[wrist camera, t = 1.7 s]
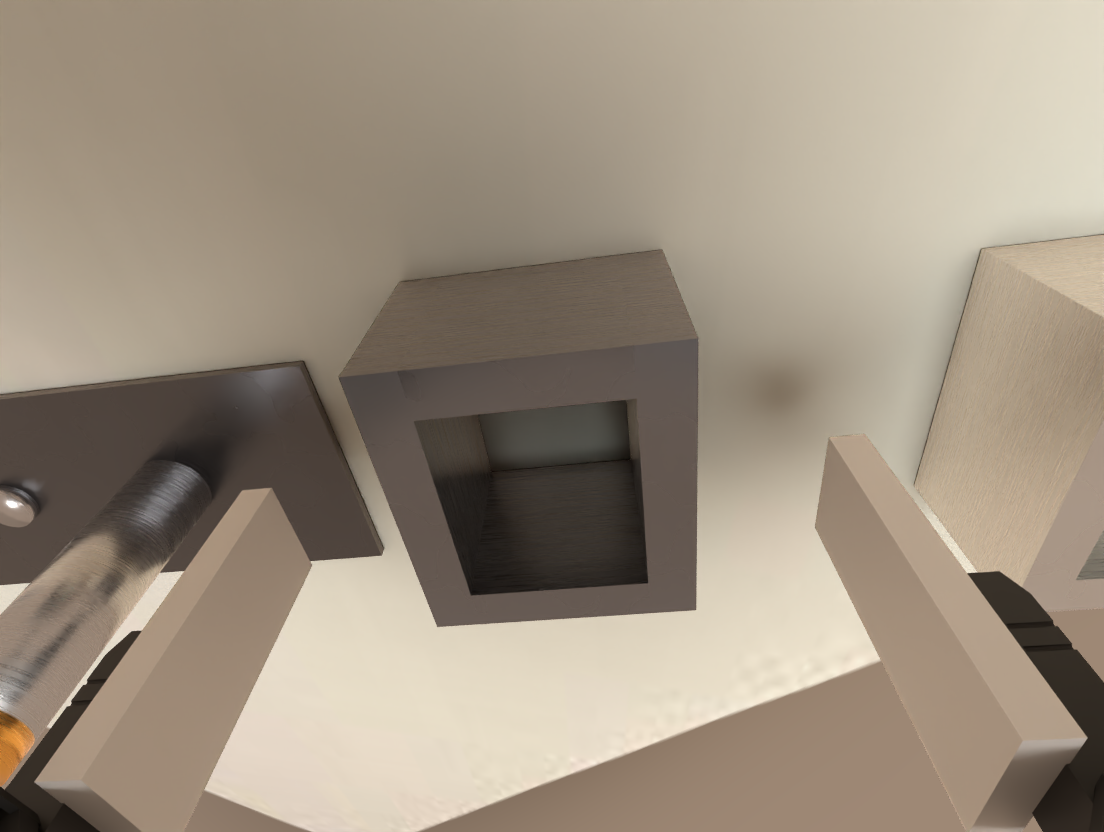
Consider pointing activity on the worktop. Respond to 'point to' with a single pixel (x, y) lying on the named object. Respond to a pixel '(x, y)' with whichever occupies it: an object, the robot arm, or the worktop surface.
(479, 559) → the grey hollow block
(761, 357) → the worktop surface
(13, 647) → the keeper
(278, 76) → the worktop surface
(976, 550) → the link
